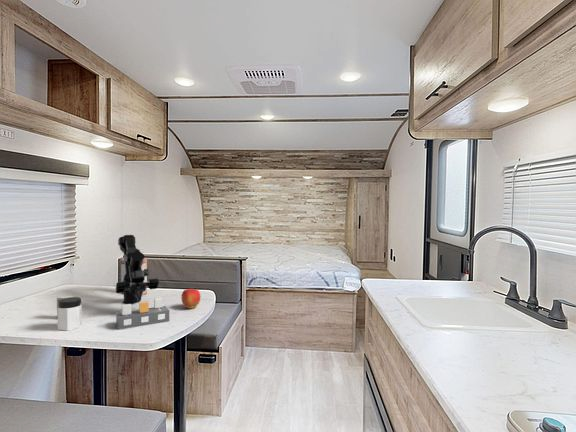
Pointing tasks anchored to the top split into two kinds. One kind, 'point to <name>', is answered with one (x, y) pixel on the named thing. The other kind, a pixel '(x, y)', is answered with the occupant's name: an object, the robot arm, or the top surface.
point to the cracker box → (144, 266)
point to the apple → (190, 298)
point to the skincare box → (60, 299)
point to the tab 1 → (126, 309)
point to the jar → (69, 313)
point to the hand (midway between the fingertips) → (139, 300)
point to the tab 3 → (158, 302)
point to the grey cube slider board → (142, 317)
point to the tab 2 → (143, 307)
